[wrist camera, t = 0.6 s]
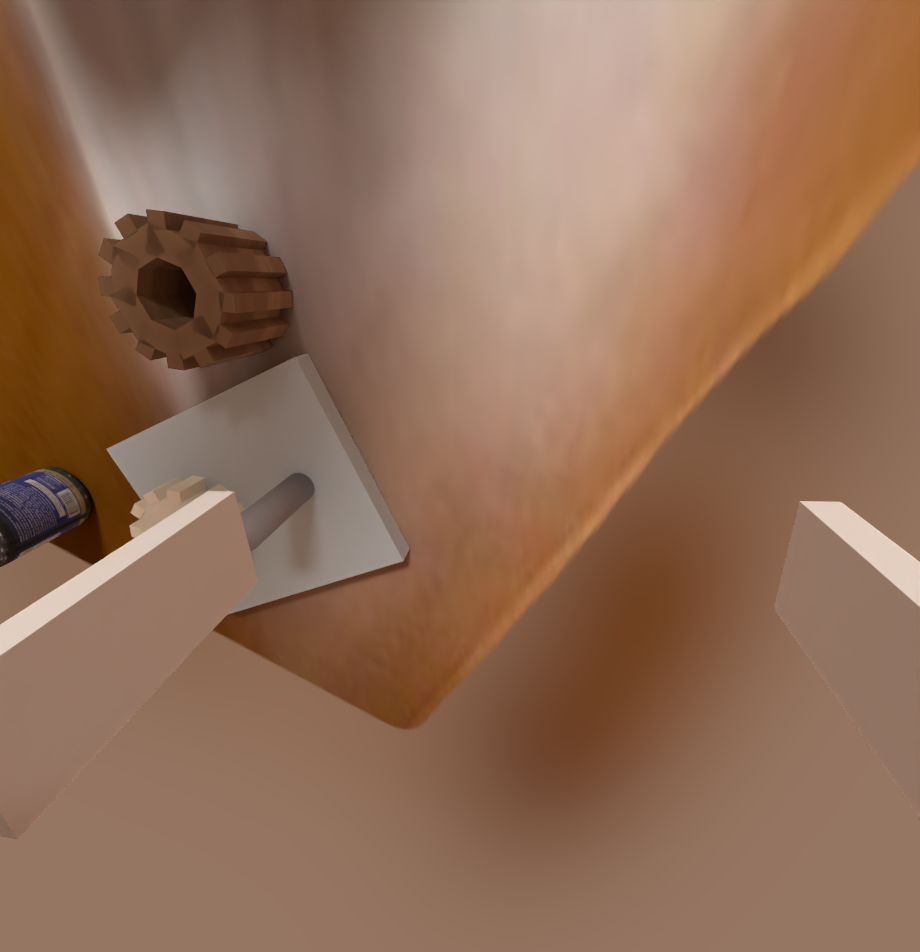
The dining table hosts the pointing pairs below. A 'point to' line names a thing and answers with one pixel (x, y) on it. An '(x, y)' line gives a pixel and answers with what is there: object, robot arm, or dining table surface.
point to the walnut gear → (193, 289)
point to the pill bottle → (39, 510)
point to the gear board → (270, 480)
